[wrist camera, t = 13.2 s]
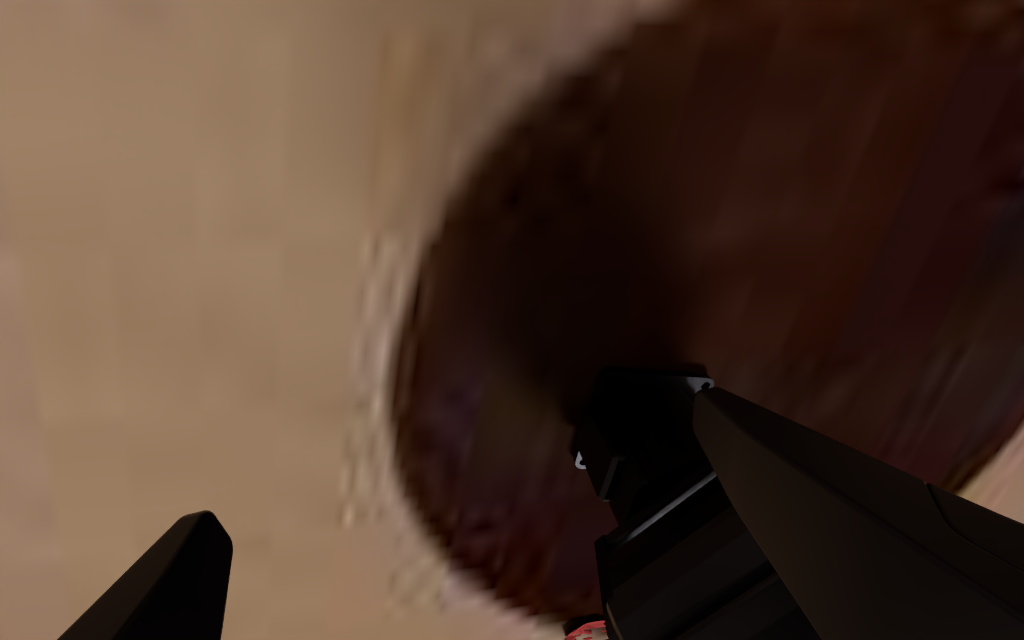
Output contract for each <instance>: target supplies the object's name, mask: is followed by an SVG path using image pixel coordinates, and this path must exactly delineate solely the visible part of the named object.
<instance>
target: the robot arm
mask: <svg viewBox="0 0 1024 640" xmlns="http://www.w3.org/2000/svg"><path fill="white" fill-rule="evenodd" d="M609 376H612V378H610V379H608V380H606V379H607V377H609ZM705 382H706V383H705ZM703 383H705V384H704V385H702V384H703ZM701 385H702V386H701ZM576 445H577V447H576V451H575V454H574V458H573V460H574V462H575V465H576V467H578V468H580V469H586V470H587V472H588V474H589V477H590V479H591V482H592V484H593V486H594V489H595V491H596V494H597V496H598V498H599V499H600V500H601V501H608V502H609V505H610V507H611V509H612V512H613V514H614V516H615V519H616V521H617V523H618V525H619V526H618V527H617V528H615V529H614V530H613V531H611V532H610V533H609V534H608V535H603V536H601V537H600V538H599V539H597V540H596V541H595V542H594V544H595V552H596V560H597V568H598V575H599V583H600V591H601V599H602V606H603V614H604V619H605V624H606V632H607V636H608V638H609V640H1024V524H1023V523H1020V522H1018V521H1015V520H1013V519H1010V518H1008V517H1005V516H1003V515H1001V514H998V513H996V512H994V511H991V510H989V509H987V508H985V507H982V506H980V505H978V504H975V503H973V502H971V501H969V500H966V499H964V498H962V497H959V496H957V495H955V494H953V493H951V492H948V491H946V490H944V489H942V488H940V487H937V486H935V485H933V484H931V483H928V484H926V483H925V481H924V480H922V479H919V478H917V477H915V476H913V475H911V474H908V473H906V472H904V471H902V470H900V469H897V468H895V467H893V466H891V465H889V464H887V463H884V462H882V461H880V460H878V459H876V458H873V457H871V456H869V455H867V454H865V453H862V452H860V451H858V450H856V449H854V448H851V447H849V446H847V445H845V444H843V443H840V442H838V441H836V440H834V439H832V438H829V437H827V436H825V435H823V434H821V433H818V432H816V431H814V430H812V429H810V428H807V427H805V426H803V425H801V424H799V423H796V422H794V421H792V420H790V419H788V418H785V417H783V416H781V415H779V414H777V413H775V412H772V411H770V410H768V409H766V408H764V407H761V406H759V405H757V404H755V403H753V402H750V401H748V400H746V399H744V398H742V397H739V396H737V395H735V394H733V393H731V392H728V391H726V390H724V389H722V388H719V387H714V381H713V380H712V379H711V378H710V377H709V376H708V375H706V374H696V373H682V372H668V371H655V370H641V369H627V368H613V367H609V368H605V369H603V370H602V371H601V372H600V374H599V377H598V380H597V383H596V386H595V389H594V393H593V396H592V399H591V402H590V404H589V405H588V406H587V407H586V409H585V412H584V416H583V419H582V422H581V425H580V429H579V432H578V435H577V438H576ZM232 554H233V545H232V541H231V538H230V536H229V535H228V533H227V532H226V531H225V529H224V528H223V526H222V525H221V523H220V522H219V520H218V519H217V518H216V516H215V515H214V514H213V512H211V511H208V510H207V511H206V510H204V511H200V512H196V513H192V514H188V515H185V516H183V517H181V518H180V519H179V520H178V521H177V522H176V523H175V524H174V525H173V526H172V527H171V528H170V529H169V530H168V531H167V532H166V533H165V534H164V535H163V536H162V537H160V538H159V539H158V540H157V541H156V542H155V543H154V544H153V545H152V546H151V547H150V548H149V549H148V550H147V551H146V552H145V553H144V554H143V555H142V556H141V557H140V558H139V559H138V560H137V561H136V562H135V563H134V564H133V565H132V566H131V567H130V568H129V569H128V570H127V571H126V572H125V573H124V574H123V575H122V576H121V577H120V578H119V579H118V580H117V581H116V582H115V583H114V584H113V585H112V586H111V587H110V588H109V589H108V590H107V591H106V592H105V593H104V594H103V595H102V596H101V597H100V598H99V599H98V600H97V601H96V602H95V603H94V604H93V605H92V606H91V607H90V608H89V609H88V610H87V611H86V612H85V613H84V614H83V615H82V616H81V617H80V618H79V619H78V620H77V621H76V622H75V623H74V624H72V625H71V626H70V627H69V628H68V629H67V630H66V631H65V632H64V633H63V634H62V635H61V636H60V637H59V638H58V639H57V640H221V634H222V628H223V621H224V613H225V606H226V599H227V591H228V584H229V576H230V569H231V562H232Z"/></svg>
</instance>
